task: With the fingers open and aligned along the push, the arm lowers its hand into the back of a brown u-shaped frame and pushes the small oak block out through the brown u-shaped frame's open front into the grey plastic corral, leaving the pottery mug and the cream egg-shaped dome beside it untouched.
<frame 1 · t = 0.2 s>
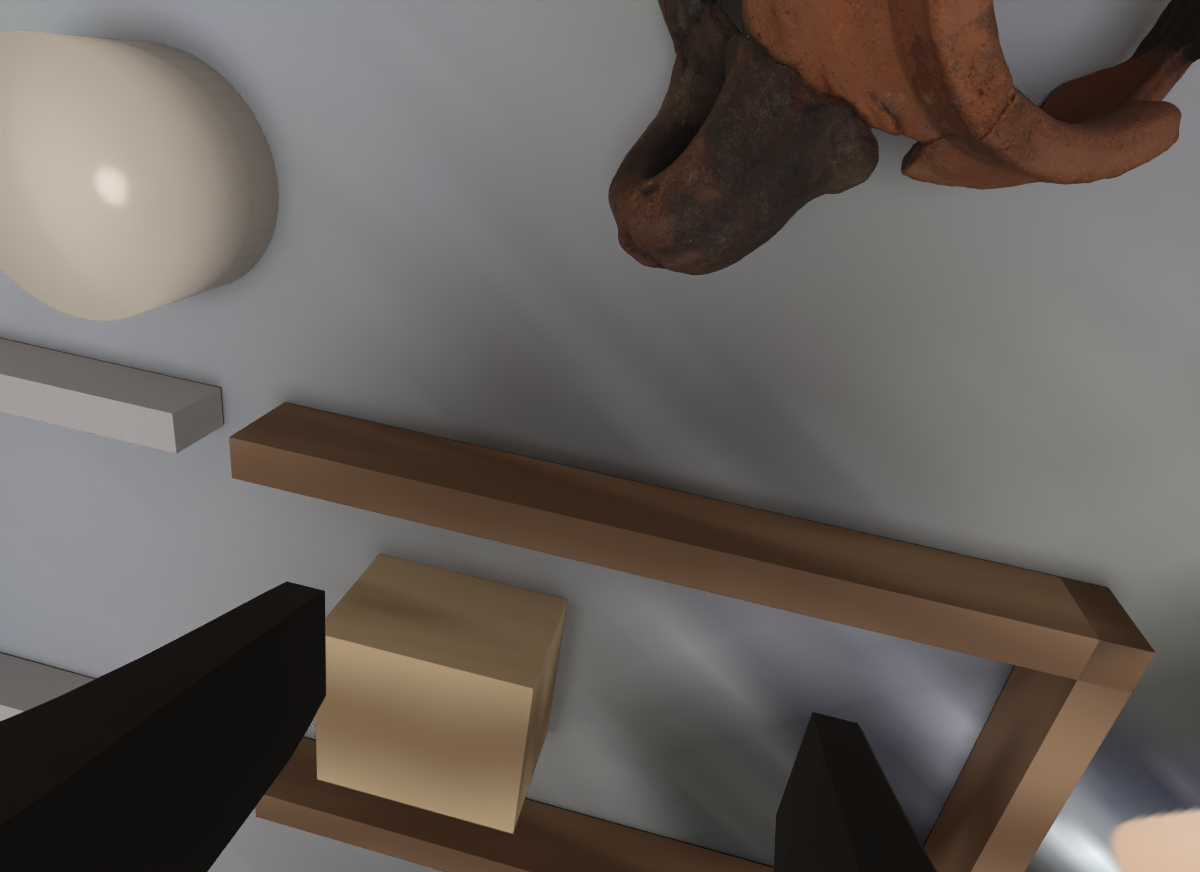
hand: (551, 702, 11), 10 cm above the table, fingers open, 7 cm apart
grey corral: (73, 546, 25), on the table
cream egg-shaped dome: (174, 172, 20), on the table
oak block: (468, 642, 24), on the table
brown u-shaped frame: (556, 670, 24), on the table
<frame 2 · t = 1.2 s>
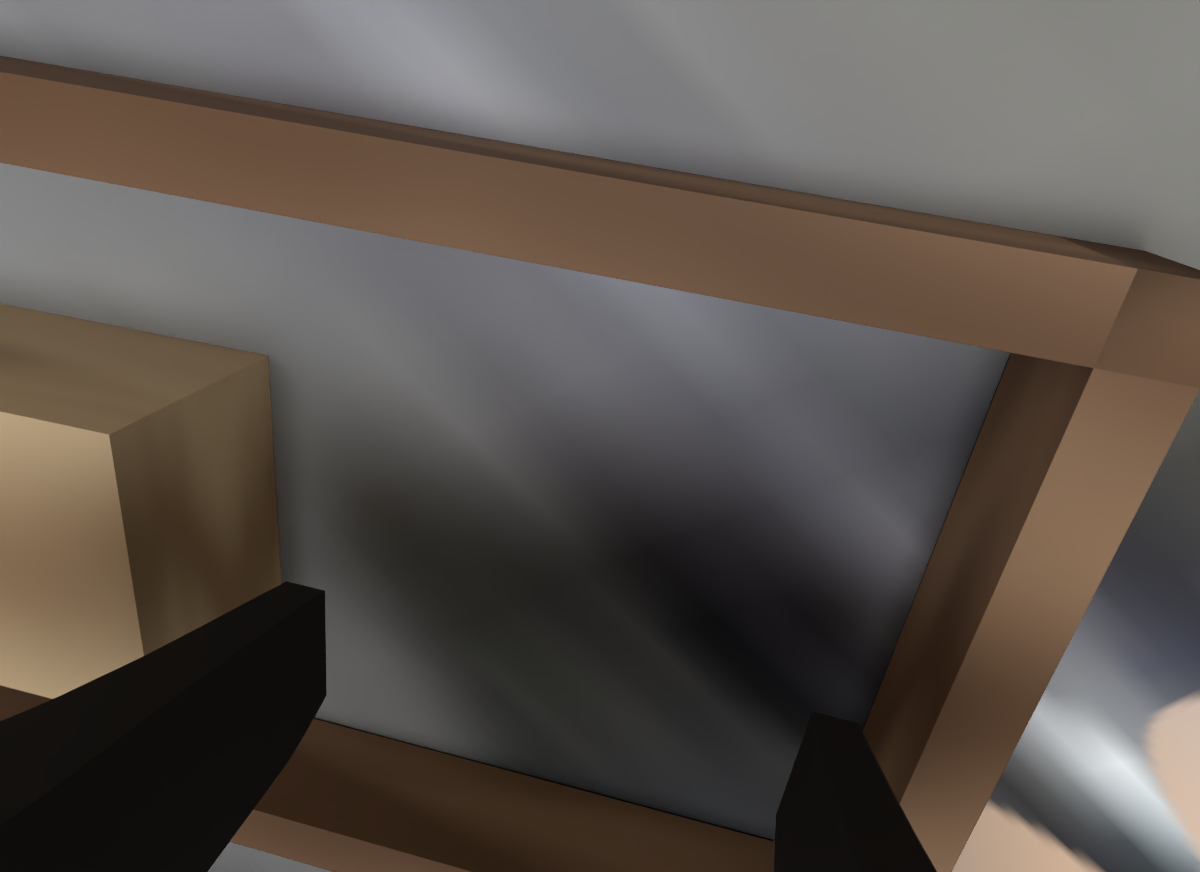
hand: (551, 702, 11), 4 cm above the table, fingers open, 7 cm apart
oak block: (147, 452, 16), on the table
brown u-shaped frame: (274, 488, 15), on the table
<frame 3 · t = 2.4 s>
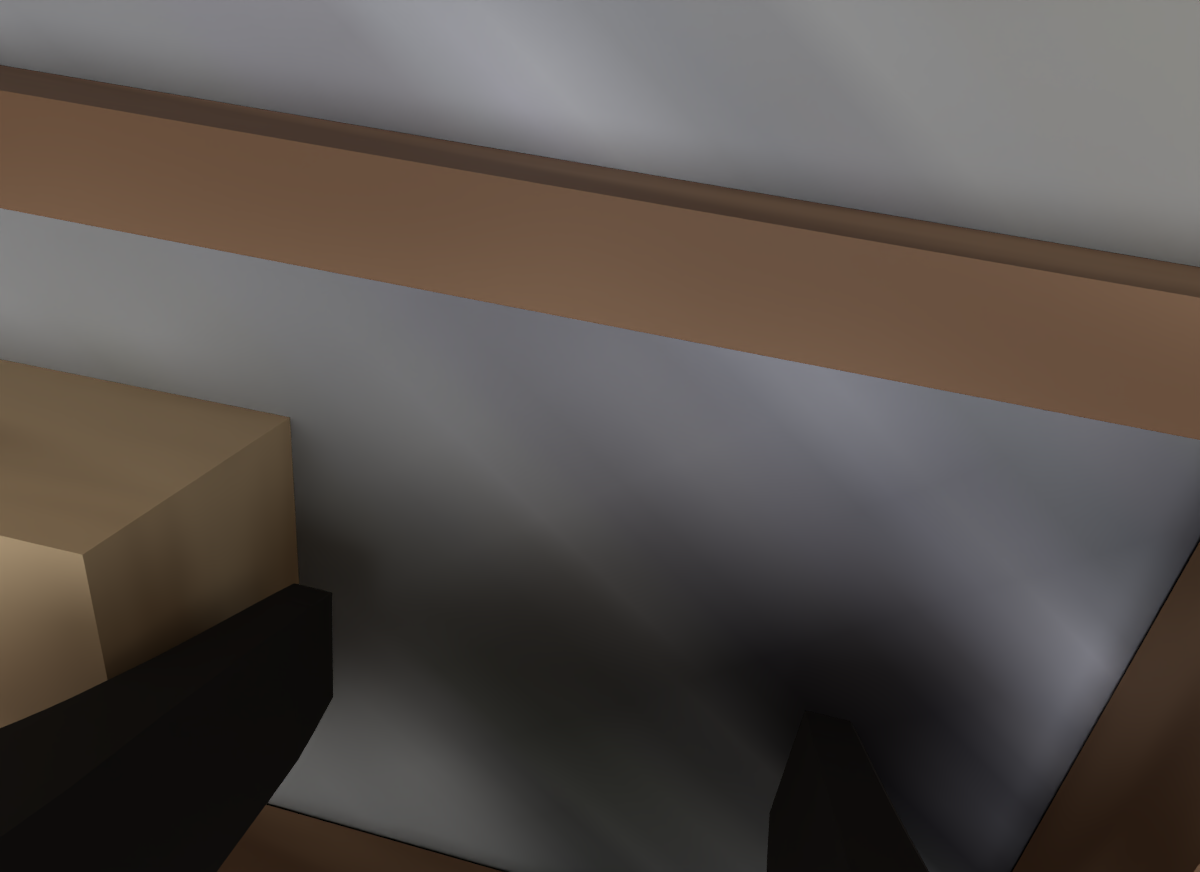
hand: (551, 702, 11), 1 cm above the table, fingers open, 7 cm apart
oak block: (141, 527, 13), on the table, touching gripper
brown u-shaped frame: (305, 574, 13), on the table
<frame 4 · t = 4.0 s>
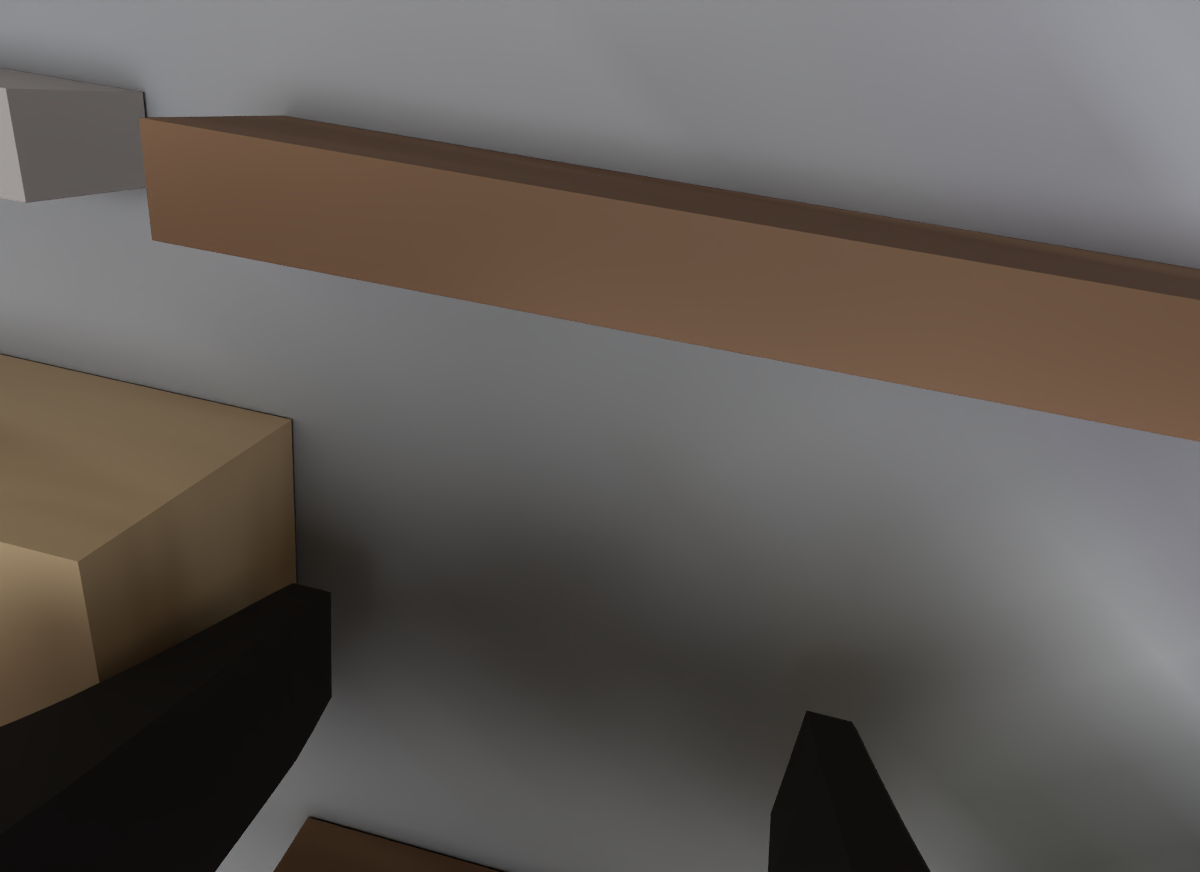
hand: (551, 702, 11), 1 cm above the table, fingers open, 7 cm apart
oak block: (135, 527, 13), on the table, touching gripper
brown u-shaped frame: (836, 704, 12), on the table
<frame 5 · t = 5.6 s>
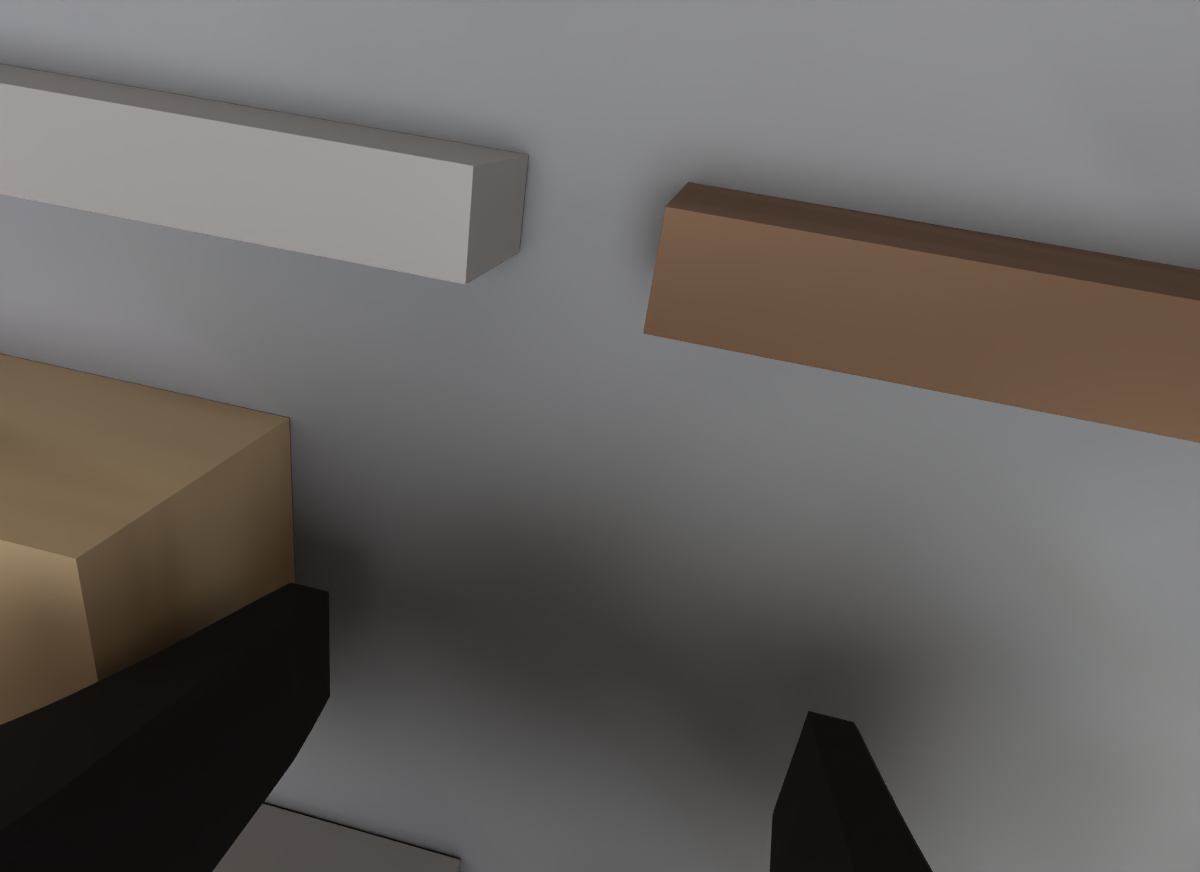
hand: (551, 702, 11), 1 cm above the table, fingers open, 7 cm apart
grey corral: (152, 536, 13), on the table
oak block: (134, 526, 13), on the table, touching gripper
brown u-shaped frame: (1196, 794, 11), on the table
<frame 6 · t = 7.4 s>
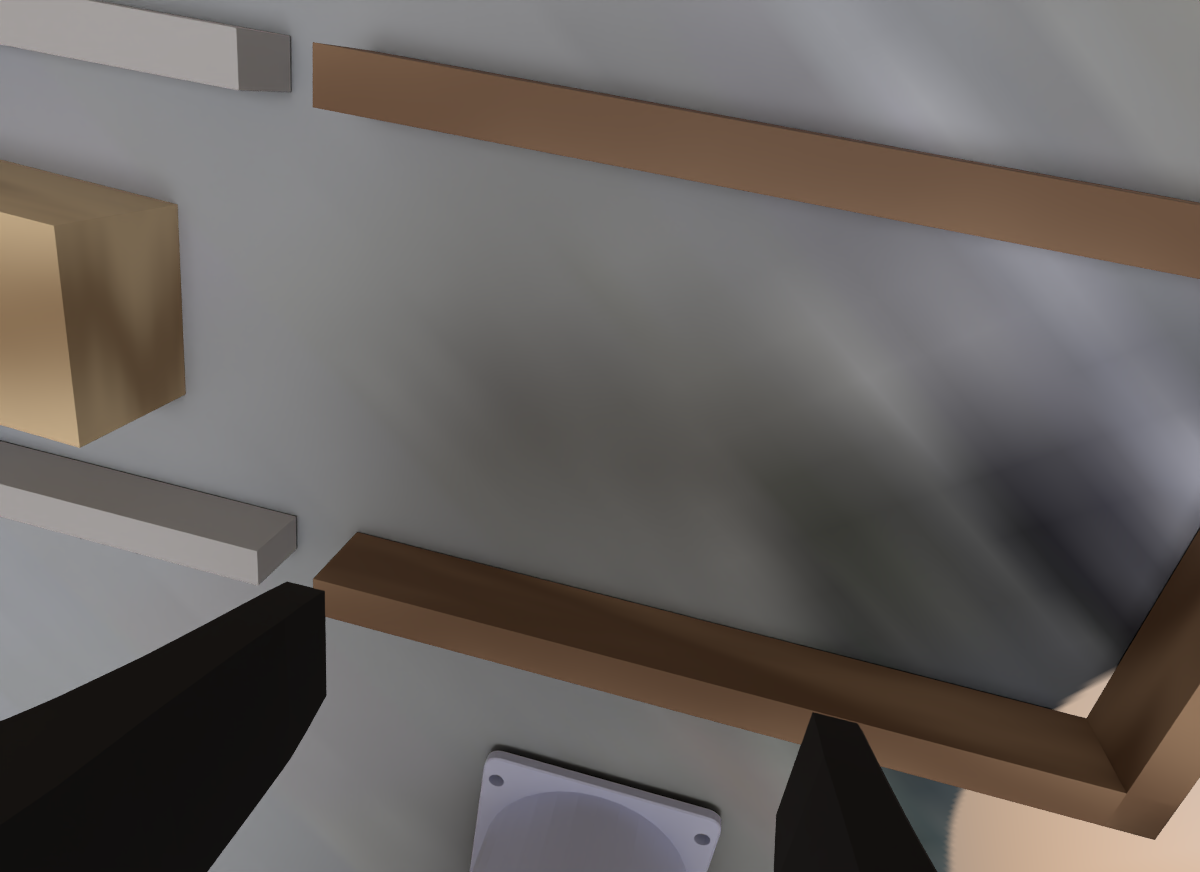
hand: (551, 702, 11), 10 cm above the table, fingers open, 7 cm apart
grey corral: (96, 285, 21), on the table
oak block: (89, 277, 21), on the table
brown u-shaped frame: (689, 420, 19), on the table
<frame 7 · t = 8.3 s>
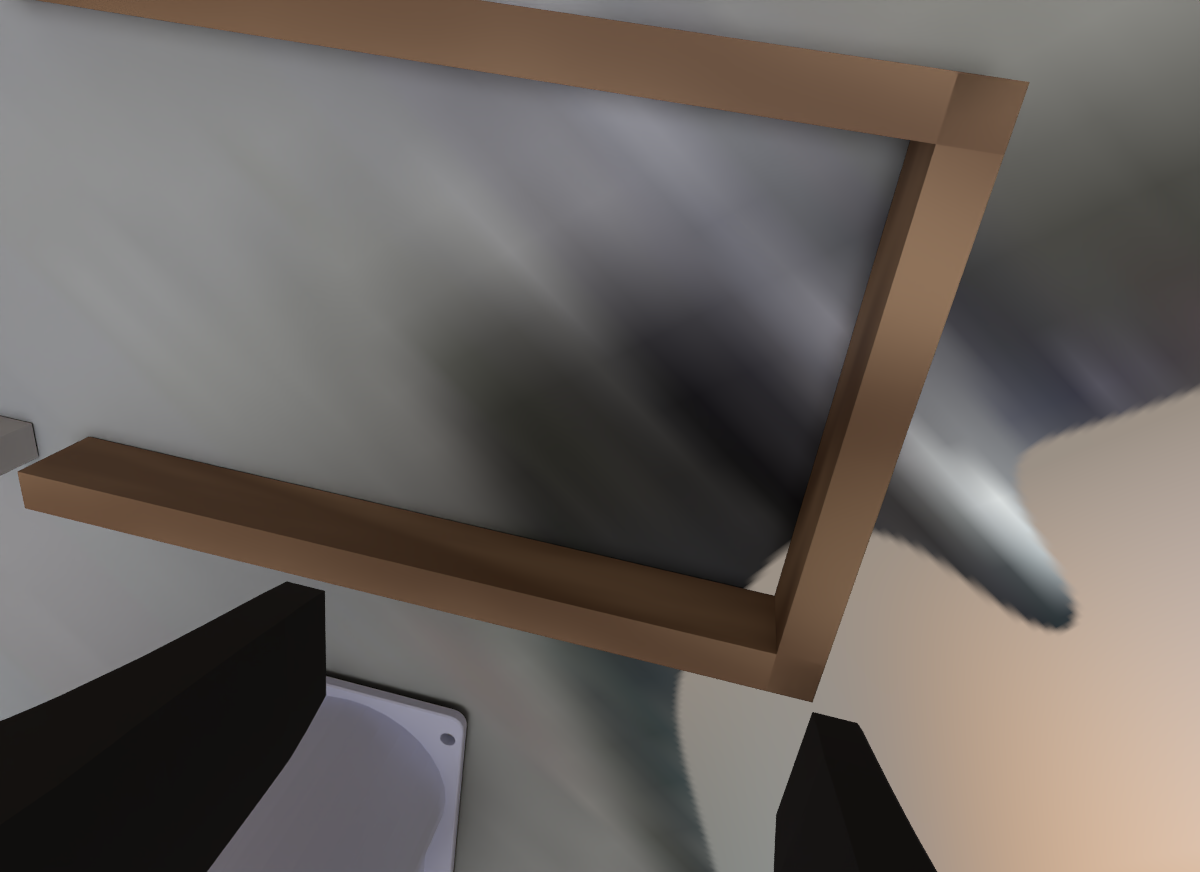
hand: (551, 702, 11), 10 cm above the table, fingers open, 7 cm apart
brown u-shaped frame: (360, 304, 20), on the table
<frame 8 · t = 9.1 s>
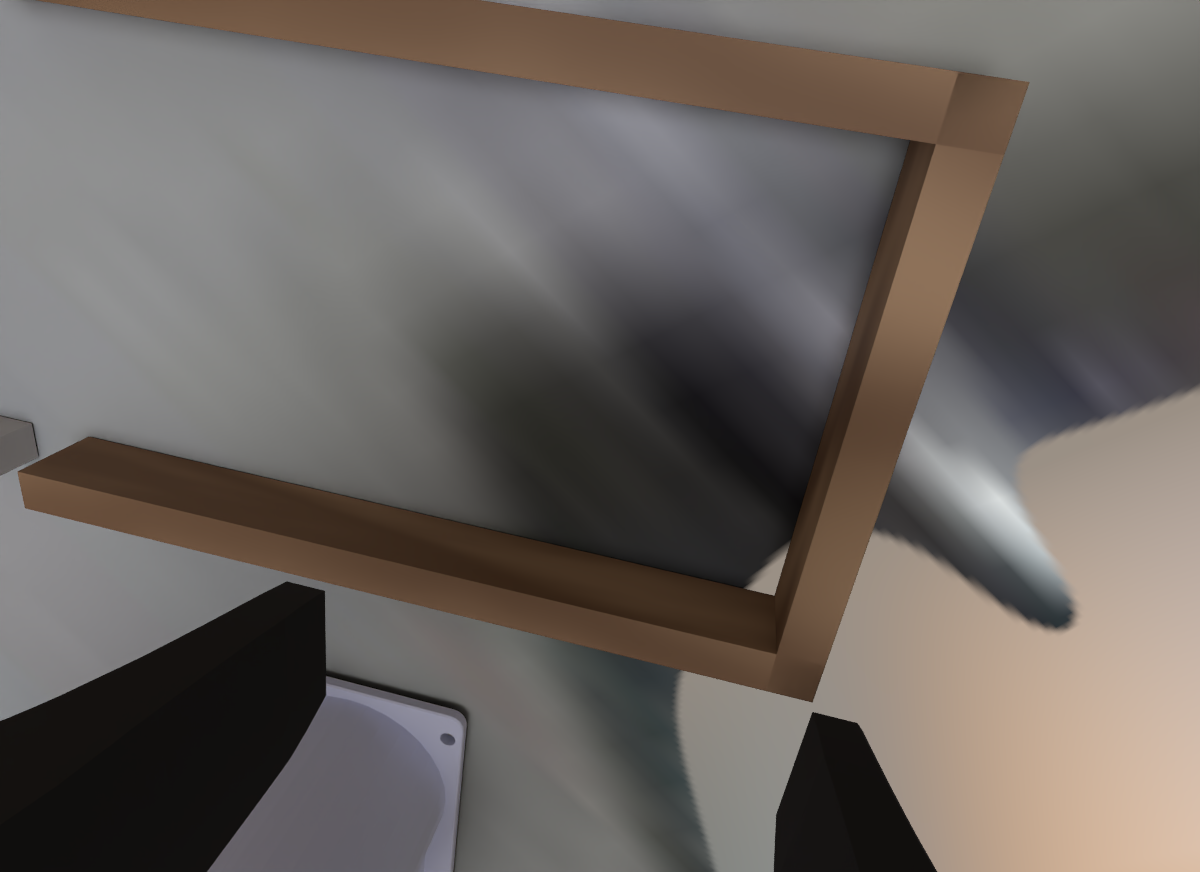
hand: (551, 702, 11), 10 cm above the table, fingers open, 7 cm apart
brown u-shaped frame: (360, 304, 20), on the table
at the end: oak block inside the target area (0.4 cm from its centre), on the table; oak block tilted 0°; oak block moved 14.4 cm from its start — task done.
